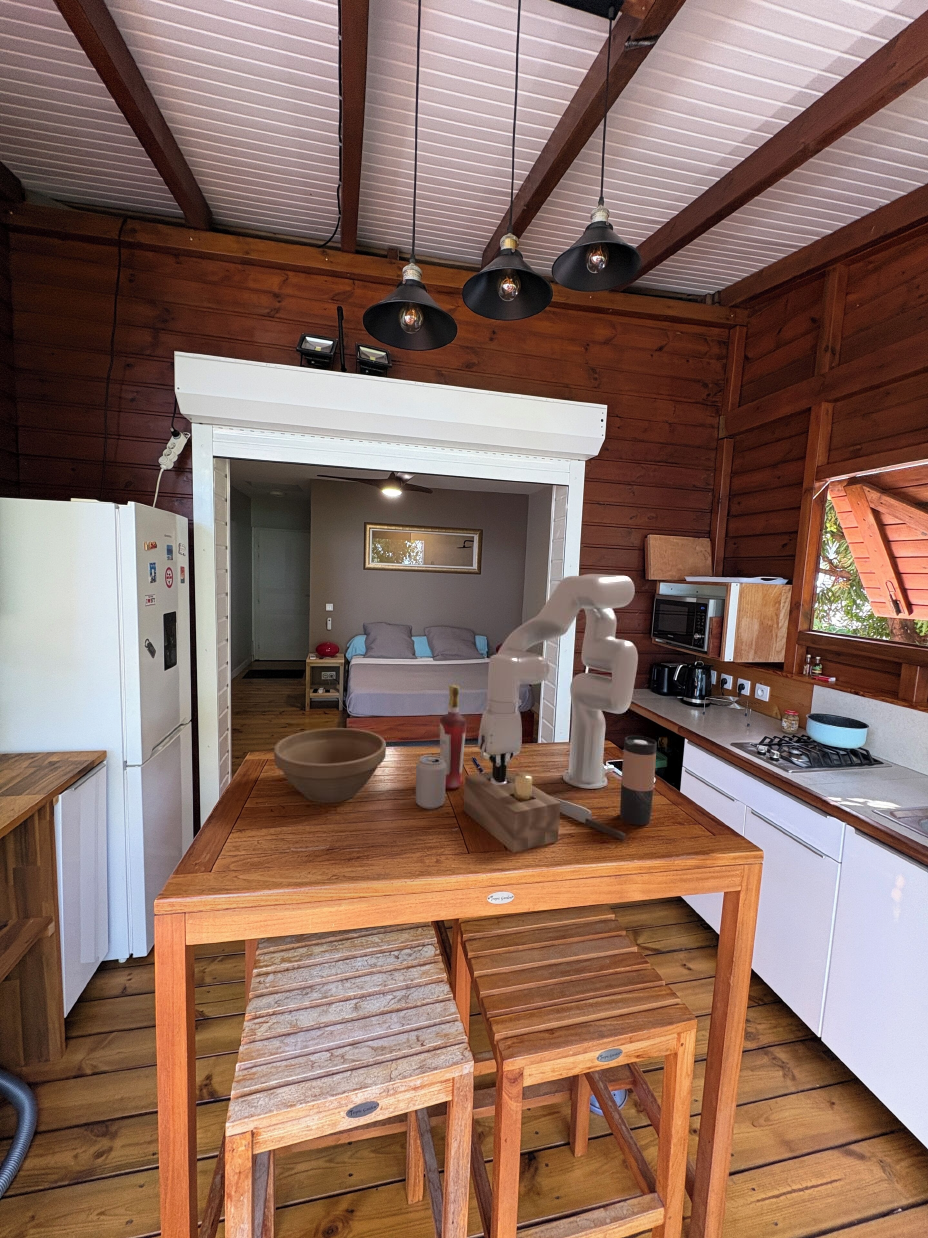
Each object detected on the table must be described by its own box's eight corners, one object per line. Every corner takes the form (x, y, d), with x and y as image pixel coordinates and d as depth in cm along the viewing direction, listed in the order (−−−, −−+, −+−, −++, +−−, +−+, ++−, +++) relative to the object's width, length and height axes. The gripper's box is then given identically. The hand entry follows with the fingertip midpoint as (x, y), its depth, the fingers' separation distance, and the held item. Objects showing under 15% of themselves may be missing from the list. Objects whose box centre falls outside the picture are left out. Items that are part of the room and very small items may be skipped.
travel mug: (651, 815, 136) (656, 738, 134) (651, 828, 129) (657, 747, 127) (619, 809, 139) (625, 733, 137) (618, 822, 131) (623, 742, 130)
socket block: (504, 802, 140) (505, 769, 139) (557, 841, 121) (560, 802, 120) (463, 810, 134) (465, 775, 133) (513, 853, 115) (515, 812, 114)
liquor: (433, 782, 151) (437, 684, 149) (457, 779, 154) (462, 683, 151) (442, 792, 144) (446, 690, 142) (467, 789, 147) (472, 689, 145)
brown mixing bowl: (320, 828, 122) (321, 772, 121) (250, 793, 139) (251, 743, 138) (406, 791, 145) (408, 743, 144) (337, 764, 162) (338, 721, 161)
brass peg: (523, 806, 125) (525, 771, 125) (534, 813, 122) (536, 777, 121) (509, 809, 123) (511, 773, 123) (519, 816, 120) (521, 779, 119)
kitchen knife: (626, 825, 123) (526, 781, 144) (624, 827, 122) (523, 782, 144) (624, 843, 123) (524, 796, 145) (622, 844, 123) (522, 797, 144)
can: (440, 812, 133) (442, 764, 132) (411, 808, 134) (413, 761, 133) (447, 799, 140) (449, 755, 139) (420, 796, 142) (421, 751, 141)
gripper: (519, 700, 136) (515, 770, 138) (467, 705, 129) (464, 779, 131) (537, 707, 130) (533, 781, 131) (483, 712, 122) (480, 790, 124)
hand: (498, 779), depth 131 cm, fingers closed
